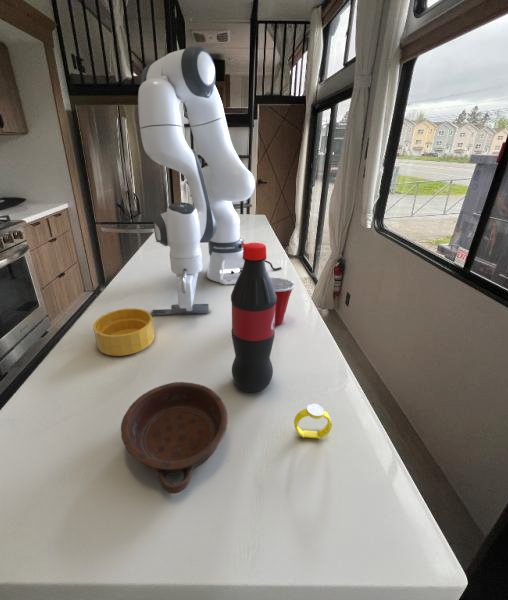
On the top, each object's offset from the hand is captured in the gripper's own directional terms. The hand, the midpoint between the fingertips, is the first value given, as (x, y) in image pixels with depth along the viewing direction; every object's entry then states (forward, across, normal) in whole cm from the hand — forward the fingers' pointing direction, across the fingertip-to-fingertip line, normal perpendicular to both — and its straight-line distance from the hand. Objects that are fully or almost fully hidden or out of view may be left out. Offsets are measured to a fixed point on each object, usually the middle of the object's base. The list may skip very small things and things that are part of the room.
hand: (190, 307), depth 96 cm
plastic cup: (+2, -6, -24) cm, 25 cm away
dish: (+2, -46, -2) cm, 46 cm away
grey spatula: (+2, 0, +3) cm, 3 cm away
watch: (+2, -46, -25) cm, 52 cm away
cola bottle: (+2, -32, -16) cm, 36 cm away
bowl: (+2, -15, +15) cm, 21 cm away
